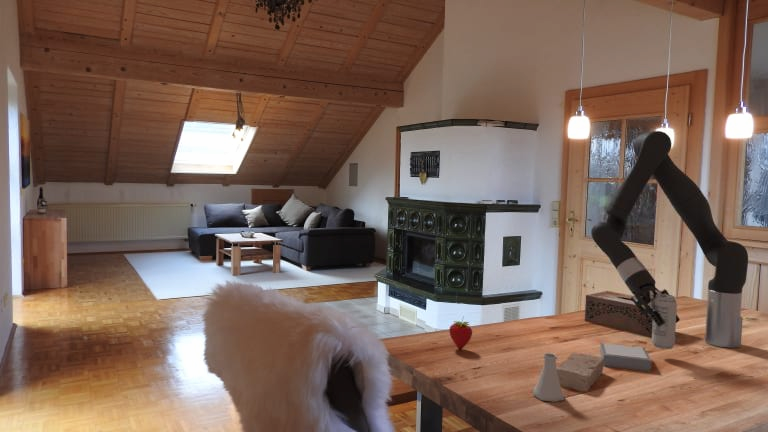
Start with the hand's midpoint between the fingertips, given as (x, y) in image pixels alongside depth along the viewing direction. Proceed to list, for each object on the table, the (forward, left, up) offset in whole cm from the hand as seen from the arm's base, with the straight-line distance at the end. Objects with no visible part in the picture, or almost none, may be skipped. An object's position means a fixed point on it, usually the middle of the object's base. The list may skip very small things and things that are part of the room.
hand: (669, 323), depth 155 cm
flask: (+32, +41, -11) cm, 53 cm away
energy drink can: (+1, -1, -8) cm, 8 cm away
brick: (+25, +26, -11) cm, 38 cm away
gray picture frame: (+12, +7, -11) cm, 18 cm away
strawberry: (+58, +13, -11) cm, 61 cm away
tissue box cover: (+6, -36, -11) cm, 38 cm away
